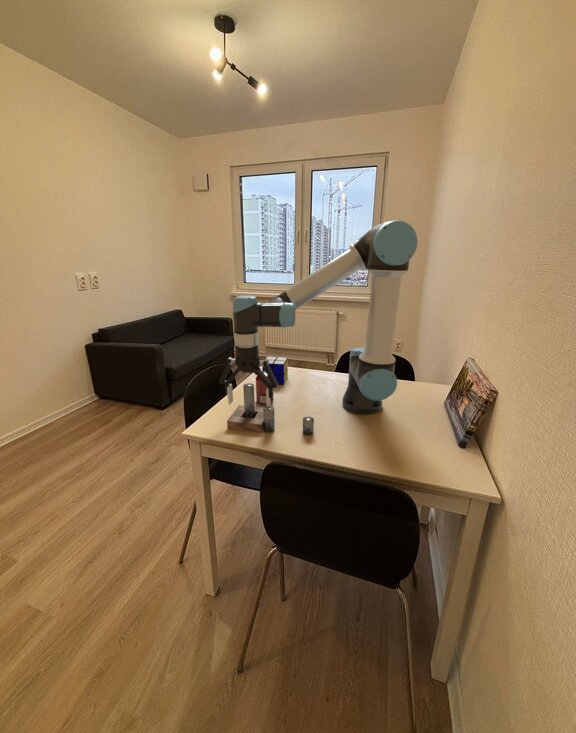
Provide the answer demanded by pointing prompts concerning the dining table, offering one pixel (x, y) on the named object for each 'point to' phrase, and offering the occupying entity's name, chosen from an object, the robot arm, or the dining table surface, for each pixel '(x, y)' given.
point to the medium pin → (269, 419)
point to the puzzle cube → (279, 368)
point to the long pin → (249, 400)
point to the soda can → (261, 390)
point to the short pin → (308, 425)
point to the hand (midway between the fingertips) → (249, 404)
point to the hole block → (246, 420)
